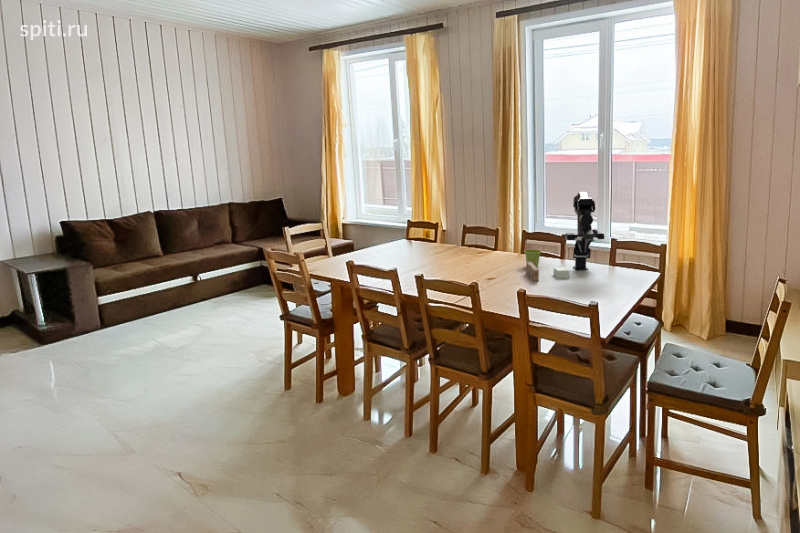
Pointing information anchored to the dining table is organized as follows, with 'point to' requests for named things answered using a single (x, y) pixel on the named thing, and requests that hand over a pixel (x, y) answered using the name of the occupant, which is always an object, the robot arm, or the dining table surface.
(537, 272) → the walnut batten
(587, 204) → the robot arm
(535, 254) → the plant pot
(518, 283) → the dining table surface
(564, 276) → the sage block
